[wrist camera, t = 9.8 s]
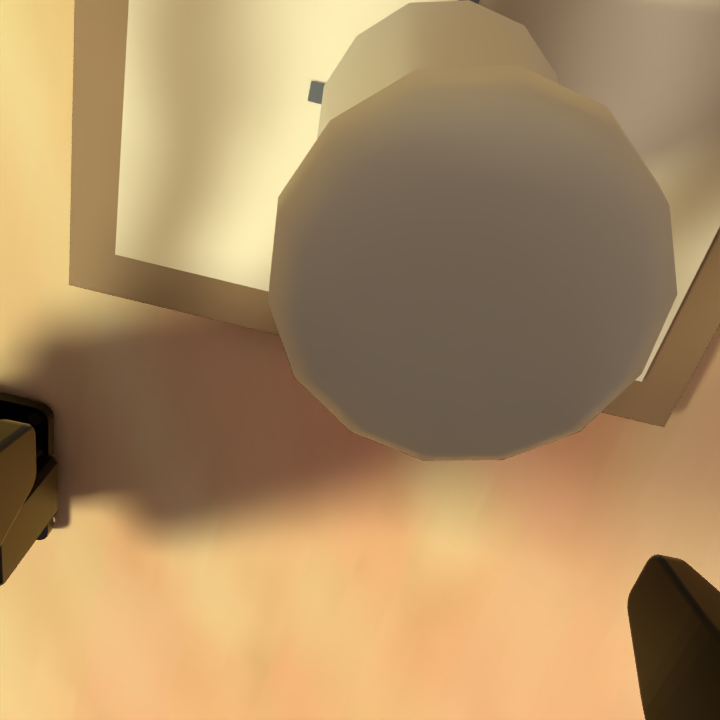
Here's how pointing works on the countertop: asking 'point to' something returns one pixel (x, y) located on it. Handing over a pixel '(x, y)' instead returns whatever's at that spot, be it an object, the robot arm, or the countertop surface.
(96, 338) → the countertop surface
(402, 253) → the salt shaker
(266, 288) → the picture frame
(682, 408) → the countertop surface
